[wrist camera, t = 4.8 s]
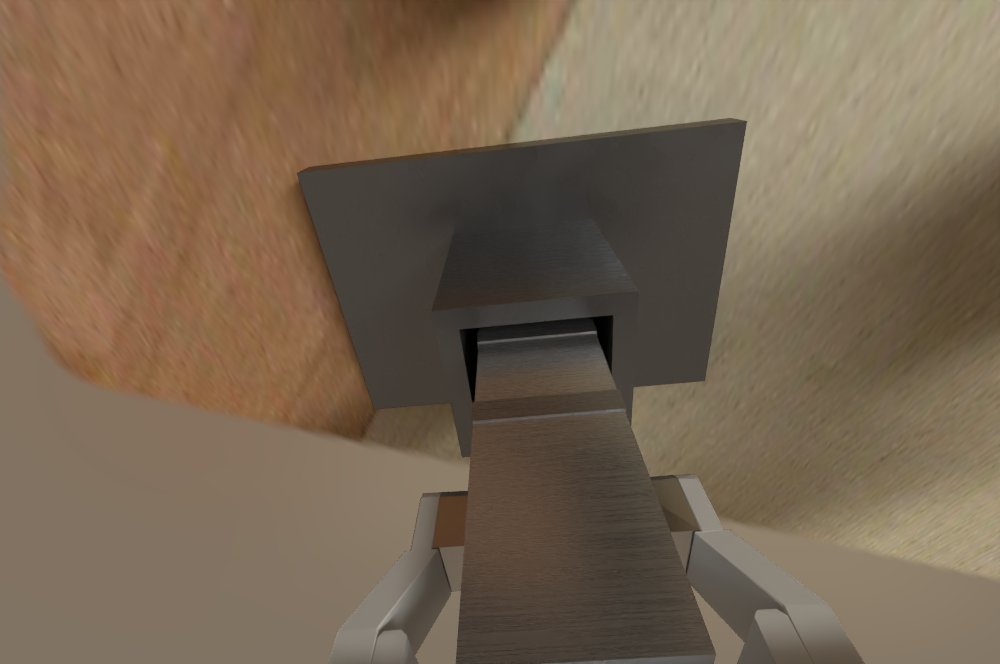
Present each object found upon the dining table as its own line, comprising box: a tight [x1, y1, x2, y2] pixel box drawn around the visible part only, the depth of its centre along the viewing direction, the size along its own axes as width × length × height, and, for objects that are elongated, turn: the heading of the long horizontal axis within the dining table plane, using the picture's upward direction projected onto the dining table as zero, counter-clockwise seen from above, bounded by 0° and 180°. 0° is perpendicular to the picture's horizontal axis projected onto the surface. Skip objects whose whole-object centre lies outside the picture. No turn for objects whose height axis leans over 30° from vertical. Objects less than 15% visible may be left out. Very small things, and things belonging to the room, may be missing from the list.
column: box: [456, 317, 716, 664], centre depth 15 cm, size 4×4×16 cm
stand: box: [297, 118, 747, 457], centre depth 20 cm, size 20×14×10 cm
